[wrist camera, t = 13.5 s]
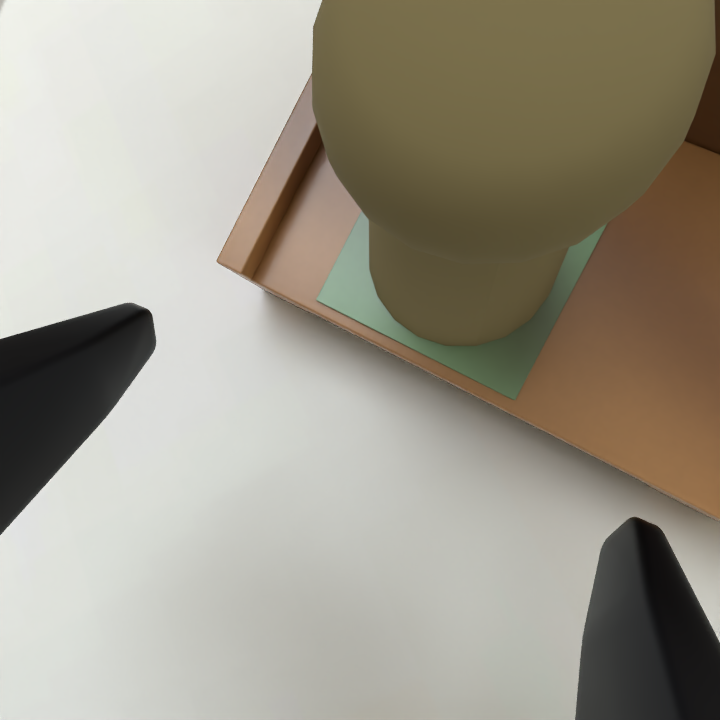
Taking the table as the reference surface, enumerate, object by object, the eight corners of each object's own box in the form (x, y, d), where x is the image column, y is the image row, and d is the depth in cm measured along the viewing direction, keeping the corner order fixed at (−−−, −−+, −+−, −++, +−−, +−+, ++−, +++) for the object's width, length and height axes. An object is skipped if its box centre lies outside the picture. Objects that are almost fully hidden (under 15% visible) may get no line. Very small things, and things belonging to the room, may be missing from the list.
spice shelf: (711, 518, 18) (1376, 827, 5) (261, 288, 21) (-8, 131, 8) (859, 238, 18) (1919, -140, 5) (384, 46, 21) (304, -496, 8)
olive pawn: (385, 152, 17) (294, -279, 6) (574, 172, 16) (871, -298, 5) (353, 330, 17) (200, 219, 6) (543, 361, 16) (784, 296, 5)
